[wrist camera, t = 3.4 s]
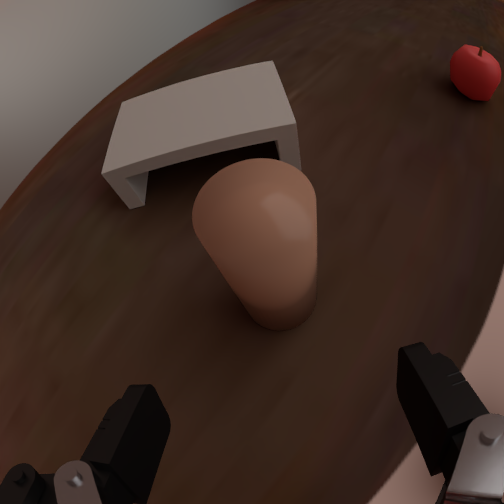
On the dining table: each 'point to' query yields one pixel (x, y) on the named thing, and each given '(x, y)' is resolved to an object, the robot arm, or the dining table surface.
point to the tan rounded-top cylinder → (262, 238)
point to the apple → (475, 72)
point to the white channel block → (198, 125)
